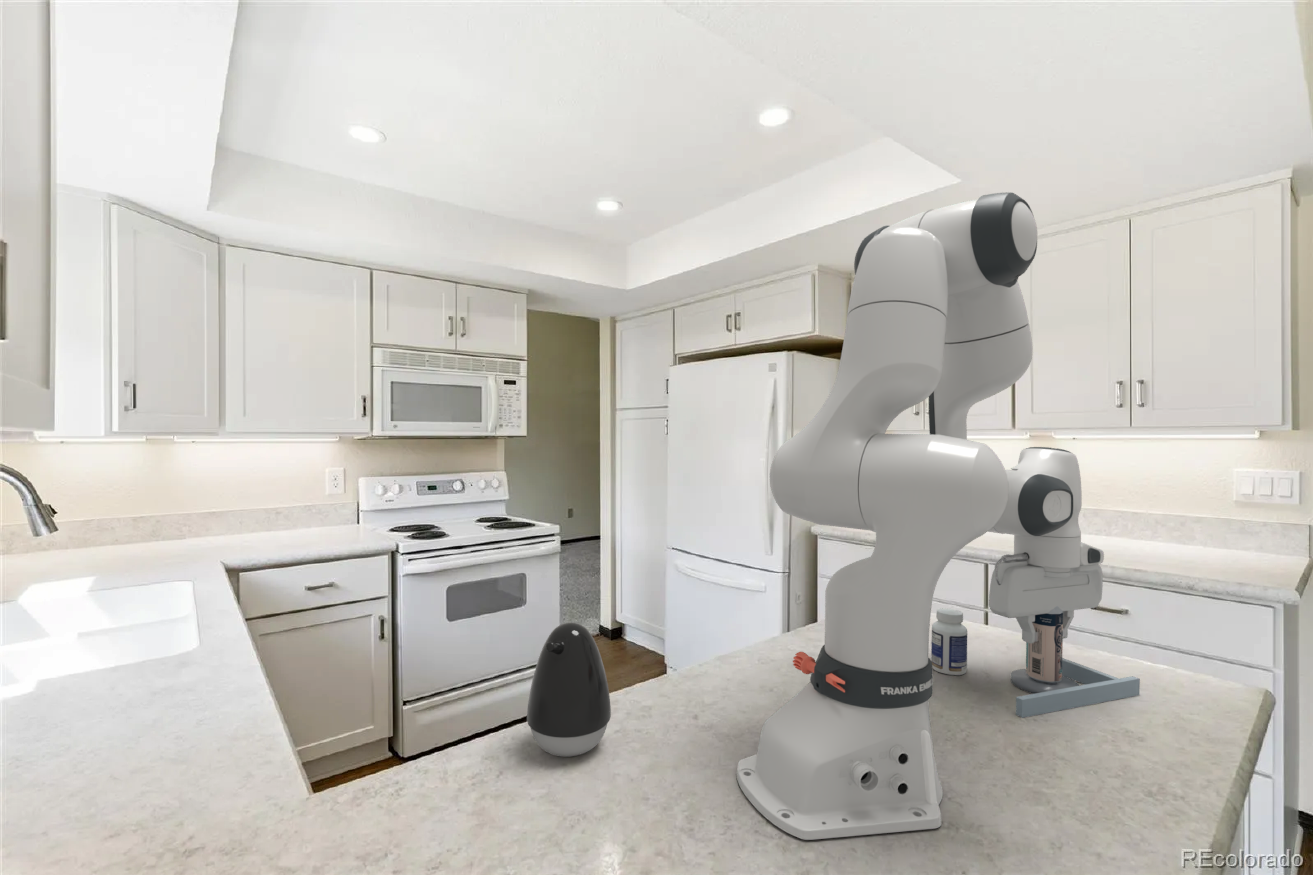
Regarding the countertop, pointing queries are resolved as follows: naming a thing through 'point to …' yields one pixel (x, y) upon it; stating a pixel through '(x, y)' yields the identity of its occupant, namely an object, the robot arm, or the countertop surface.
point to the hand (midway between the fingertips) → (1044, 639)
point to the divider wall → (1078, 691)
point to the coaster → (1037, 683)
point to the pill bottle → (949, 643)
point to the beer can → (1046, 648)
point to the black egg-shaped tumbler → (569, 693)
